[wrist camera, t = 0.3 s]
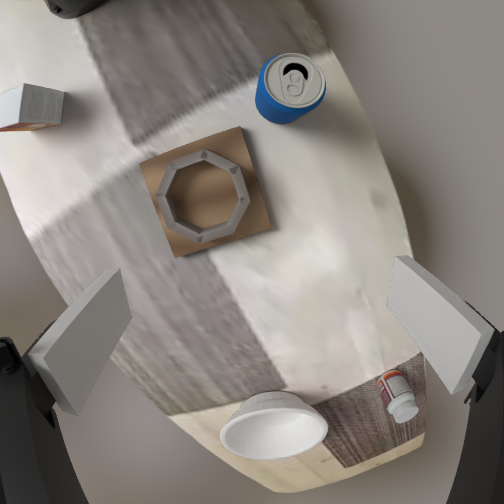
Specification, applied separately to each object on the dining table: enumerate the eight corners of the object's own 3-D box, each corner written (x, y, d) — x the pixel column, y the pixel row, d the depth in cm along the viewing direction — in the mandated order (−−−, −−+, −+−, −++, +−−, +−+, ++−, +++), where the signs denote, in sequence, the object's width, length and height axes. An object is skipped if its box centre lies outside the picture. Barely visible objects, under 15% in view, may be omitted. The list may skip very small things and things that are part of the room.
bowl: (269, 360, 47) (272, 393, 39) (339, 399, 52) (349, 427, 44) (202, 411, 52) (198, 440, 45) (273, 440, 57) (275, 466, 50)
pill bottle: (384, 390, 52) (401, 427, 42) (370, 383, 51) (387, 422, 40) (404, 373, 51) (425, 408, 40) (391, 365, 49) (413, 402, 38)
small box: (29, 131, 31) (-13, 133, 21) (32, 99, 29) (-9, 96, 20) (62, 124, 32) (18, 123, 22) (66, 91, 30) (24, 82, 20)
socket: (143, 162, 35) (132, 164, 31) (240, 127, 34) (239, 124, 30) (177, 254, 40) (170, 265, 36) (271, 225, 38) (273, 233, 35)
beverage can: (307, 84, 32) (333, 58, 20) (300, 128, 34) (324, 119, 23) (259, 75, 31) (265, 43, 20) (251, 119, 33) (254, 105, 22)
